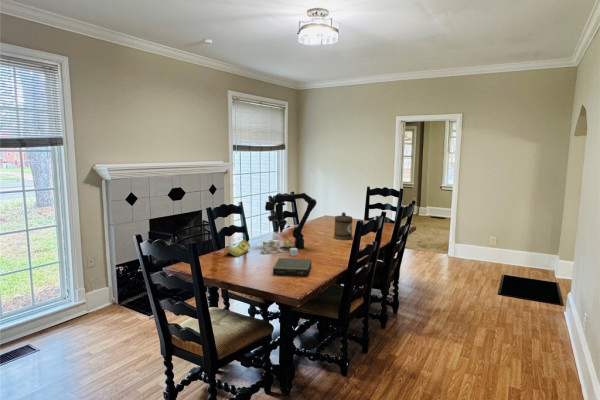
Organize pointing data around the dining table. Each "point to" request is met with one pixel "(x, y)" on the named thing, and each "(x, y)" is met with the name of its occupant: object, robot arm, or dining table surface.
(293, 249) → the grey block
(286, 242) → the brass cylinder
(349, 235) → the wooden container
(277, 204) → the robot arm
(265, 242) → the mounted unit
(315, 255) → the dining table surface
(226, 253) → the curled yellow paper
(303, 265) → the network switch
